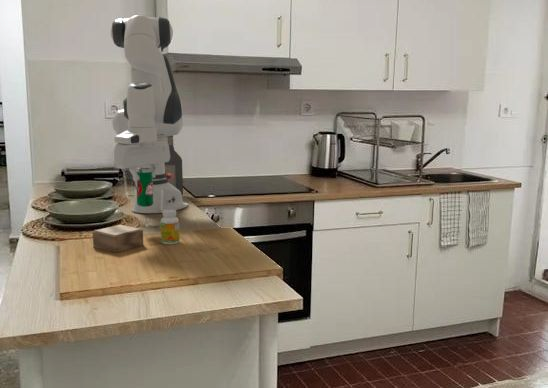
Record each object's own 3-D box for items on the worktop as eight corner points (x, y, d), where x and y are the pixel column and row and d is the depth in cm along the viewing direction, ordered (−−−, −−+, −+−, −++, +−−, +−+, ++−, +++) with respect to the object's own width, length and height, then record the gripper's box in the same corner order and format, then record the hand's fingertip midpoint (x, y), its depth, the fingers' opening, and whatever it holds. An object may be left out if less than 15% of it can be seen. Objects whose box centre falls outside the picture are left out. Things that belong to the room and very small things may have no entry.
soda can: (149, 207, 175) (148, 169, 172) (134, 206, 176) (133, 168, 174) (155, 204, 180) (155, 167, 177) (141, 203, 181) (140, 166, 178)
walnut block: (121, 240, 169) (120, 224, 168) (143, 245, 164) (142, 228, 163) (93, 247, 161) (92, 230, 160) (116, 252, 156) (115, 235, 155)
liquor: (173, 198, 238) (171, 128, 233) (156, 197, 242) (153, 128, 237) (185, 195, 247) (183, 127, 241) (168, 193, 250) (166, 127, 245)
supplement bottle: (157, 243, 165) (156, 211, 164) (167, 239, 170) (166, 208, 169) (173, 245, 164) (172, 213, 162) (182, 241, 169) (181, 209, 167)
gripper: (160, 132, 184) (161, 174, 186) (109, 137, 167) (112, 182, 170) (173, 133, 180) (175, 176, 183) (123, 139, 164) (125, 185, 166)
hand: (144, 179), depth 176 cm, fingers closed on soda can, 5 cm apart
